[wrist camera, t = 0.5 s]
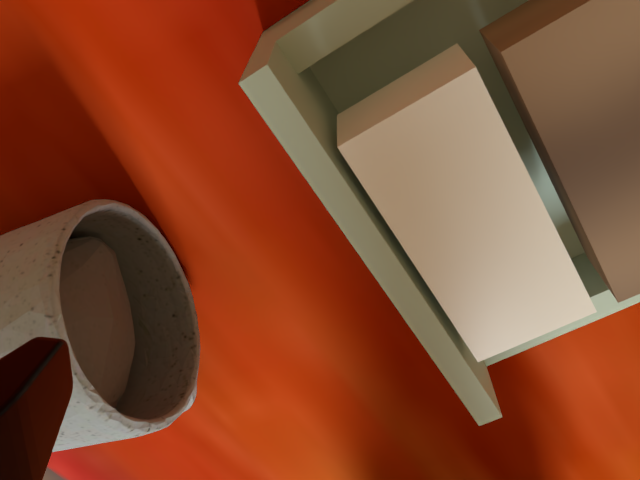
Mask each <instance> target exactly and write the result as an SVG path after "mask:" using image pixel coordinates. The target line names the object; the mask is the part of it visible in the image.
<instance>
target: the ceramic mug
mask: <svg viewBox="0 0 640 480" xmlns="http://www.w3.org/2000/svg"><path fill="white" fill-rule="evenodd" d="M35 337H50V338H60V339H63V340H65V341H66V342H67V344H68V347H69V354H70V361H71V369H72V376H73V390H72V395H71V399H70V402H69V404H68V407H67V410H66V413H65V416H64V419H63V422H62V425H61V427H60V430H59V433H58V436H57V439H56V442H55V445H54V448H53V451H52V452H55V451H61V450H67V449H72V448H78V447H83V446H89V445H94V444H99V443H105V442H111V441H117V440H123V439H128V438H134V437H139V436H142V435H145V434H149V433H152V432H155V431H159V430H161V429H163V428H166V427H168V426H169V425H170V424H171V423H172V422H173V421H174V420H175V419H177V418H178V417H179V416H180V415H181V414H182V413H183V412H185V411H186V410H188V409H189V408H190V407H191V406H192V404H193V403H194V400H195V397H196V393H197V375H198V368H199V357H200V336H199V329H198V322H197V314H196V310H195V306H194V301H193V296H192V293H191V290H190V287H189V284H188V281H187V279H186V277H185V274H184V272H183V269H182V268H181V266H180V264H179V262H178V260H177V258H176V256H175V254H174V252H173V250H172V249H171V247H170V246H169V244H168V242H167V241H166V239H165V238H164V237H163V236H162V235H161V233H160V231H159V230H158V229H157V228H156V227H155V226H154V225H153V224H152V223H151V222H150V221H149V220H148V219H147V218H146V217H145V216H144V215H143V214H142V213H140V212H138V211H137V210H135V209H134V208H132V207H131V206H129V205H128V204H125V203H121V202H118V201H115V200H107V199H98V200H90V201H88V202H85V203H82V204H80V205H77V206H74V207H72V208H69V209H67V210H64V211H62V212H59V213H57V214H54V215H52V216H49V217H47V218H44V219H42V220H39V221H37V222H34V223H32V224H29V225H26V226H24V227H21V228H18V229H15V230H13V231H10V232H8V233H5V234H3V235H1V236H0V359H1V358H2V357H4V356H5V355H7V354H9V353H10V352H12V351H13V350H15V349H16V348H18V347H20V346H21V345H23V344H24V343H26V342H28V341H29V340H31V339H33V338H35Z"/></svg>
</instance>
